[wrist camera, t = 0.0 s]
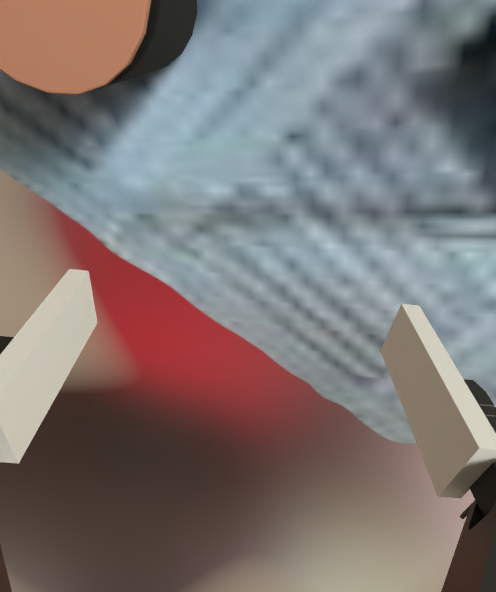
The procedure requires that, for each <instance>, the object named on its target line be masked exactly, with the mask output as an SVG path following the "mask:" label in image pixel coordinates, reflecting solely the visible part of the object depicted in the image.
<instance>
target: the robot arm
mask: <svg viewBox="0 0 496 592" xmlns="http://www.w3.org/2000/svg"><path fill="white" fill-rule="evenodd" d="M96 324H97V318H96V312H95V307H94V300H93V294H92V288H91V283H90V277H89V272H88V271H83V270H73V269H69V270H68V271H67V273H66V274H65V275H64V276H63V278H62V279H61V280H60V281H59V283H58V284H57V285H56V286H55V288H54V289H53V290H52V291H51V293H50V294H49V295H48V296H47V297H46V299H45V300H44V301H43V303H42V304H41V305H40V306H39V307H38V309H37V310H36V311H35V312H34V314H33V315H32V316H31V317H30V319H29V320H28V321H27V322H26V323H25V325H24V326H23V327H22V328H21V330H20V331H19V332H18V333H17V335H16V336H15V337H4V336H0V462H7V463H19V462H20V460H21V458H22V456H23V455H24V453H25V451H26V449H27V448H28V446H29V444H30V442H31V440H32V439H33V437H34V435H35V433H36V431H37V429H38V428H39V426H40V424H41V422H42V421H43V419H44V417H45V415H46V414H47V412H48V410H49V408H50V406H51V405H52V403H53V401H54V399H55V397H56V396H57V394H58V392H59V390H60V388H61V387H62V385H63V383H64V381H65V380H66V377H67V376H68V374H69V372H70V371H71V369H72V367H73V365H74V363H75V362H76V360H77V358H78V356H79V355H80V353H81V351H82V349H83V347H84V345H85V344H86V342H87V340H88V338H89V337H90V335H91V333H92V331H93V329H94V328H95V326H96ZM381 353H382V355H383V358H384V361H385V363H386V366H387V368H388V371H389V373H390V376H391V378H392V381H393V383H394V386H395V389H396V391H397V394H398V396H399V399H400V401H401V404H402V406H403V409H404V411H405V414H406V417H407V419H408V422H409V424H410V427H411V429H412V432H413V434H414V437H415V439H416V442H417V445H418V447H419V450H420V452H421V455H422V457H423V460H424V462H425V465H426V467H427V470H428V473H429V475H430V478H431V480H432V483H433V485H434V488H435V490H436V493H437V495H438V496H440V497H452V498H462V496H463V495H464V494H465V493H466V492H467V491H468V490H469V489H470V490H471V492H472V494H473V496H474V498H475V501H474V502H473V503H472V504H471V505H470V506H469V507H468V508H467V509H466V510H465V511H464V512H463V513H462V514H461V516H460V517H461V518H462V519H464V518H465V517H466V516H467V518H466V521H465V524H464V527H463V530H462V532H461V535H460V539H459V541H458V544H457V547H456V550H455V553H454V556H453V559H452V562H451V565H450V568H449V571H448V574H447V577H446V580H445V582H444V585H443V588H442V591H441V592H496V407H494V404H493V402H492V401H491V399H490V398H489V396H488V395H487V393H486V392H485V391H484V390H483V389H482V388H481V387H480V386H479V385H478V384H477V383H476V382H474V381H473V380H465V379H463V378H462V376H461V375H460V373H459V371H458V370H457V368H456V366H455V365H454V363H453V361H452V360H451V358H450V356H449V355H448V353H447V351H446V350H445V348H444V346H443V345H442V343H441V341H440V340H439V338H438V336H437V335H436V333H435V331H434V330H433V328H432V326H431V325H430V323H429V321H428V320H427V318H426V316H425V315H424V313H423V311H422V310H421V308H420V306H417V305H408V304H401V306H400V308H399V311H398V313H397V315H396V317H395V320H394V322H393V324H392V326H391V328H390V331H389V333H388V335H387V337H386V339H385V342H384V344H383V346H382V348H381ZM0 592H12V591H11V587H10V582H9V579H8V575H7V570H6V566H5V562H4V558H3V554H2V550H1V545H0Z"/></svg>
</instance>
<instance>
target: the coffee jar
mask: <svg viewBox="0 0 496 592" xmlns="http://www.w3.org/2000/svg"><path fill="white" fill-rule="evenodd" d="M196 15H197V0H0V69H1V70H2V71H3V72H5V73H6V74H8V75H9V76H10V77H12V78H13V79H15V80H16V81H18V82H21V83H24V84H26V85H29V86H32V87H34V88H37V89H39V90H42V91H45V92H47V93H58V94H82V93H85V92H88V91H91V90H93V89H99V88H102V87H105V86H108V85H111V84H114V83H117V82H120V81H123V80H126V79H129V78H132V77H135V76H138V75H141V74H145V73H148V72H151V71H154V70H156V69H159V68H162V67H165V66H168V65H169V64H170V63H171V62H172V61H174V60H175V59H176V58H177V57H178V56H179V55H180V54H182V52H183V50H184V49H185V47H186V45H187V43H188V41H189V40H190V38H191V36H192V33H193V28H194V24H195V19H196Z"/></svg>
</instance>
